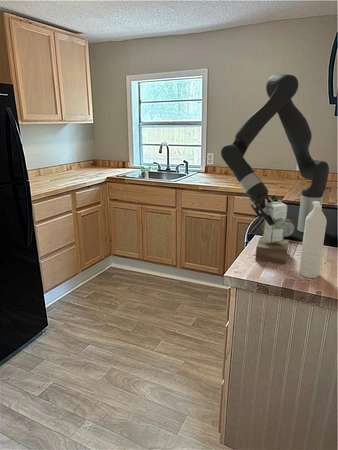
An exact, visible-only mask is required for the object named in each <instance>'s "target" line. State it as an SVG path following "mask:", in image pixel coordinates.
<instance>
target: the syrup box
mask: <svg viewBox="0 0 338 450" xmlns="http://www.w3.org/2000/svg"><path fill="white" fill-rule="evenodd" d="M267 204H268V208H269V209H268V213H269V215H270V216H271V218H272V219H273V220H274V222H275V223H274V224H273V225H271V226H270V225H269V224H268V223H267V221H266V220H265V219H264V218H263V220H264V221H263V222H264V228H263V232H262V237H263V238H264V239H266V240H267V241H269V242H270V243H271V242H279V241H283V240H284V238H285V237H284V230H285V222H286V219H287V215H288V214H287V212H288V205H287V204H285V203H284V202H282V201H279V202H275V201H274V202H271V203H267Z"/></svg>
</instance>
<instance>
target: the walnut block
mask: <svg viewBox="0 0 338 450" xmlns="http://www.w3.org/2000/svg"><path fill="white" fill-rule="evenodd" d="M289 241H290V240H289V239H283V241H279V242H271V243H270V242H269V241H267V240H266V239H264V238H263V236H260V237H259V240H258V242H257V244H256V249H255V260H256V262H263V263H269V262H271V263H270V264H276V263H277V265H283V264H284V266H286V264H287V257H288V251H289Z"/></svg>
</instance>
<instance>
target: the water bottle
mask: <svg viewBox="0 0 338 450" xmlns="http://www.w3.org/2000/svg"><path fill="white" fill-rule="evenodd" d="M312 205H314V207H313V210H312V211H311V212H310V213H309V215H308V216H307V217H306V220H305V228H304V232H303V238H302V244H301V245H302V246H301V254H300V262H299V268H298V269H299V270H298V272H299V273H298V274H299V275H301V276H302V277H304V278H308V279H309V278H310V279H316V278H318V277H319V276H320V271H321V269H320V268H321V263H322V255H323V248H324V241H325V235H326V228H327V223H328V221H327V220H328V219H327V217H326V216H325V214H324V212H323V208H322V207H323V205H322V206H321V205H320V202H318V201H313V203H312Z"/></svg>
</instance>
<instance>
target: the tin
mask: <svg viewBox="0 0 338 450" xmlns="http://www.w3.org/2000/svg"><path fill="white" fill-rule="evenodd" d="M260 226H261V227H260V229H261V231H262V233H263V228H264V221H263V222H262V223H261V225H260ZM296 230H297V227H296V224H295V222H294V221H293V220H292V219H290V218H286V222H285V230H284V238H289V237H291V236H293V235H294V234H295V232H296Z"/></svg>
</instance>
